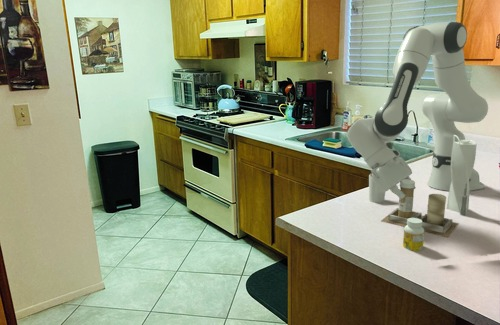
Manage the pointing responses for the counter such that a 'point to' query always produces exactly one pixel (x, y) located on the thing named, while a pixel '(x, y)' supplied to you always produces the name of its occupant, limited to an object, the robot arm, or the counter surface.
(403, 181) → the sprinkles bottle
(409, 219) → the supplement bottle
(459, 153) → the skyscraper
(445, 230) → the brown holder tray
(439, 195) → the birch pin
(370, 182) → the white and black cylinder
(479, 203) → the counter surface
